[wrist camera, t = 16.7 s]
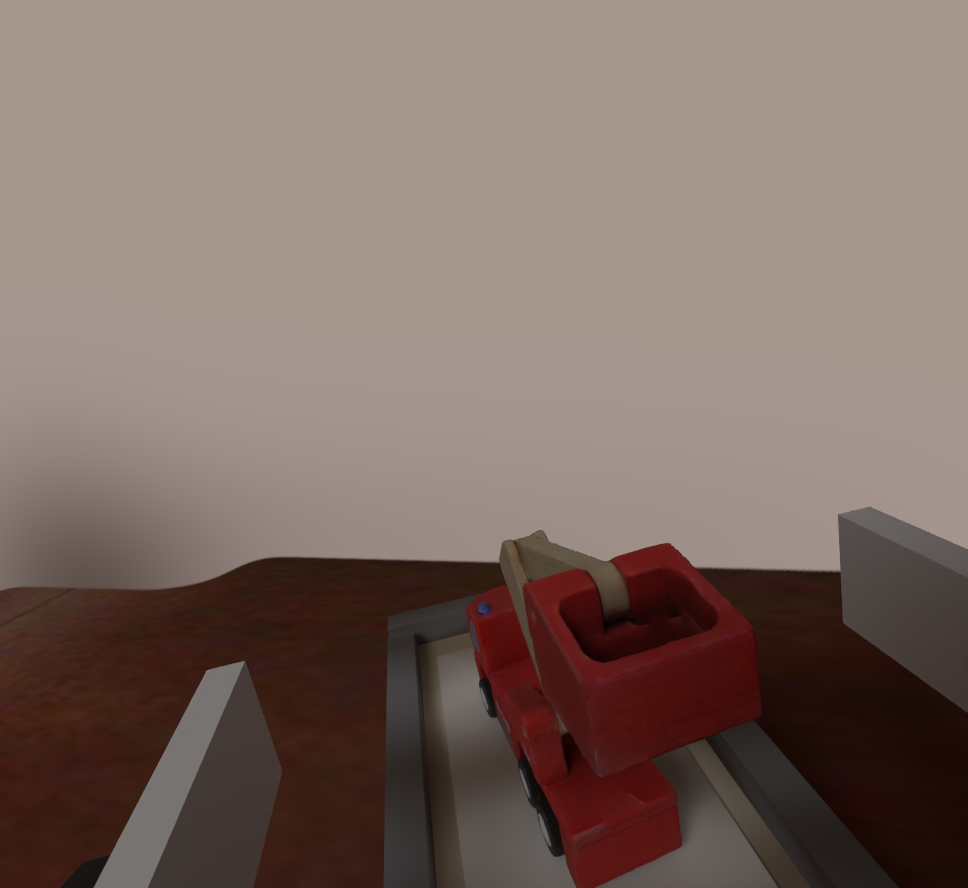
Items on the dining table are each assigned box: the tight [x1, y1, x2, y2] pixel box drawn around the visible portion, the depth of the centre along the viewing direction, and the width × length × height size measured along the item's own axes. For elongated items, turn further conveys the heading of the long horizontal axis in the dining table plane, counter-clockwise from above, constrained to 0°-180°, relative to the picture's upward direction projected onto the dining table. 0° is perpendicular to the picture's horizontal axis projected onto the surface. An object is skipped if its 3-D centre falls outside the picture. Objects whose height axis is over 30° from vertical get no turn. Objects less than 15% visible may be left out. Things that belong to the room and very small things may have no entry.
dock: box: [384, 592, 899, 888], centre depth 21 cm, size 20×12×4 cm, turn 9°
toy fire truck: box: [466, 530, 762, 888], centre depth 17 cm, size 3×14×10 cm, turn 16°
